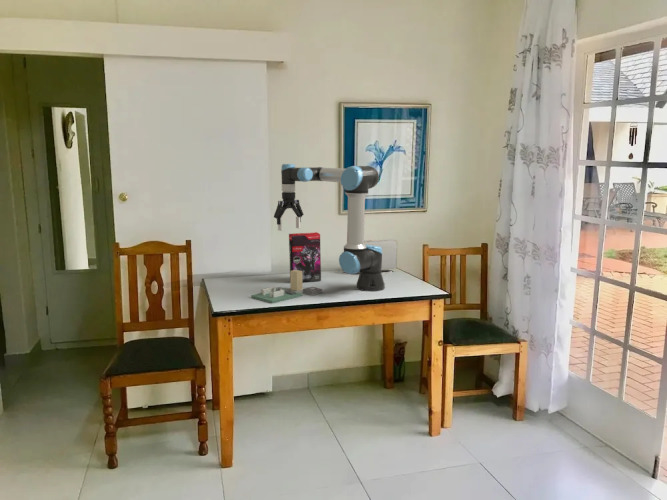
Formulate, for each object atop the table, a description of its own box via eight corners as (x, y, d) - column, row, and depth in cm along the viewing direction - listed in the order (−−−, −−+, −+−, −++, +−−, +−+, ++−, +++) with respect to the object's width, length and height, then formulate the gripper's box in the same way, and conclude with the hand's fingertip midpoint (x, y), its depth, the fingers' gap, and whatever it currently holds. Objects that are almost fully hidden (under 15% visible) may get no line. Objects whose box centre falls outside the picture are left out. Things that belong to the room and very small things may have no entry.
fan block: (322, 292, 276) (322, 288, 275) (312, 295, 271) (312, 290, 270) (312, 290, 281) (312, 285, 280) (302, 292, 275) (302, 288, 275)
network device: (360, 275, 316) (361, 242, 313) (354, 273, 324) (354, 240, 321) (398, 272, 326) (399, 240, 323) (391, 269, 334) (392, 238, 331)
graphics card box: (292, 283, 296) (291, 235, 291) (288, 281, 302) (288, 233, 298) (321, 281, 302) (321, 233, 297) (317, 278, 308) (317, 232, 304)
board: (302, 295, 269) (302, 288, 269) (272, 303, 255) (272, 295, 254) (281, 290, 280) (281, 283, 279) (251, 297, 265) (251, 290, 265)
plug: (302, 289, 282) (302, 271, 280) (296, 291, 279) (296, 272, 278) (295, 287, 286) (295, 269, 284) (289, 289, 283) (289, 270, 281)
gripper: (300, 190, 311) (300, 226, 314) (266, 192, 293) (267, 230, 296) (309, 191, 306) (309, 227, 309) (275, 192, 288) (276, 231, 291)
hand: (289, 229), depth 303 cm, fingers open, 13 cm apart
